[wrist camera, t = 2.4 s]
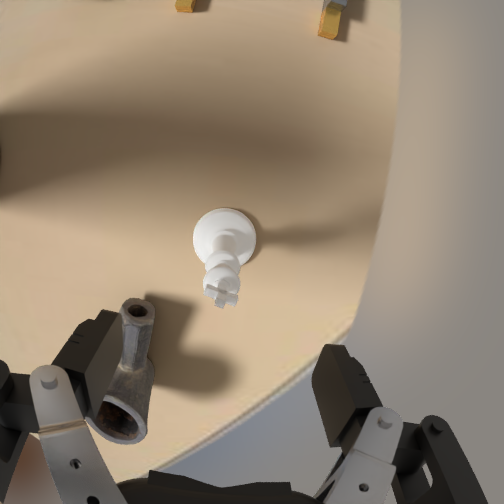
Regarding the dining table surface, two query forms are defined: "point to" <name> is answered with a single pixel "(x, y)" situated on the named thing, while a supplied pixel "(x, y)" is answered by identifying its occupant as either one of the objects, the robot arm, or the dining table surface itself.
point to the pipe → (129, 379)
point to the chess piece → (223, 252)
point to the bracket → (328, 24)
